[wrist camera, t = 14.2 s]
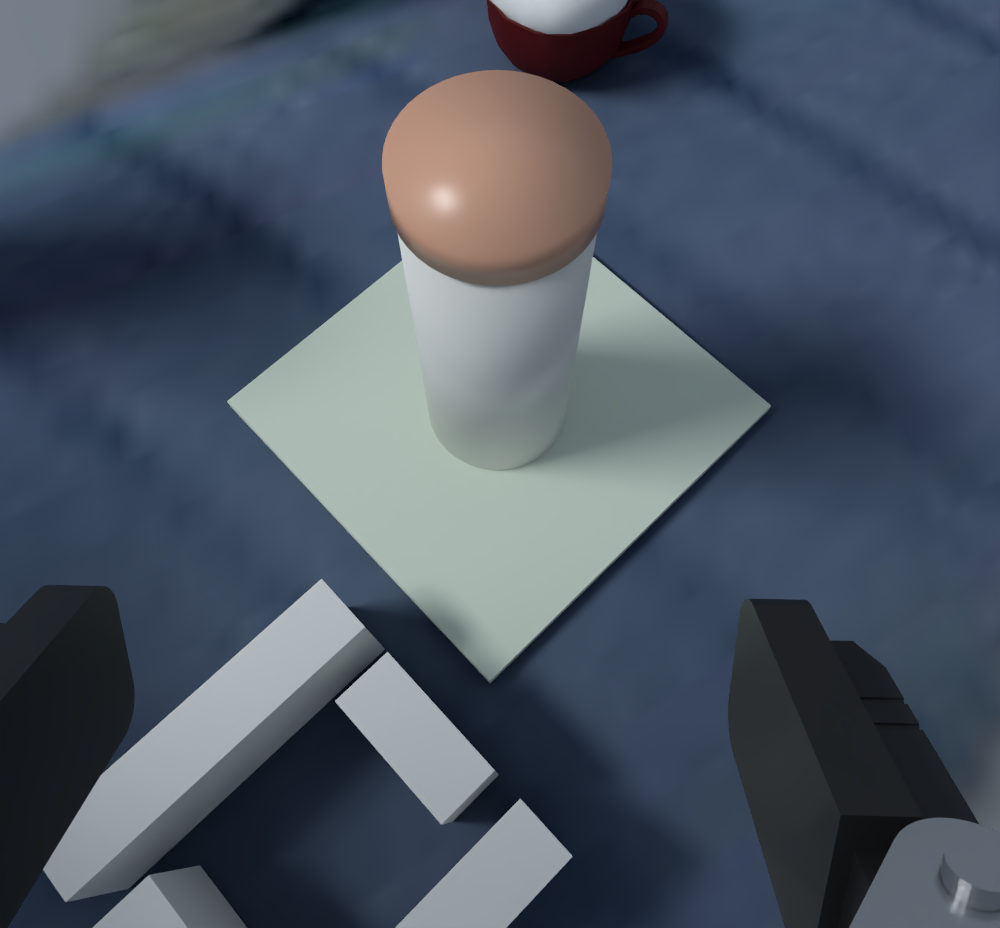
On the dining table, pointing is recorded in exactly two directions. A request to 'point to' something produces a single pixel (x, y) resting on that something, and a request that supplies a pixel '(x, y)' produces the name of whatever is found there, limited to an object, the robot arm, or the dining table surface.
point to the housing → (259, 734)
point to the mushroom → (497, 253)
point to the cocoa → (569, 33)
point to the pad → (498, 493)
